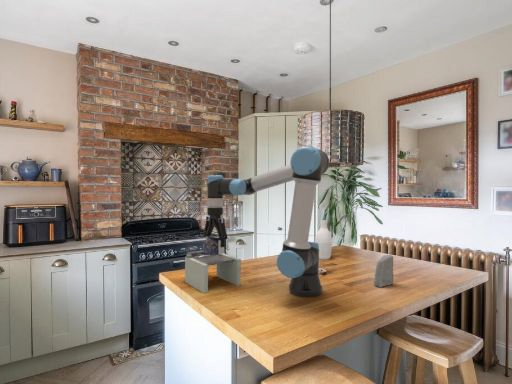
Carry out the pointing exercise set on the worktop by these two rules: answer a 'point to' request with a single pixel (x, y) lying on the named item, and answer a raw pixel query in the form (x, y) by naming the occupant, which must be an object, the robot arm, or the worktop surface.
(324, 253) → the bottle
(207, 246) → the rock
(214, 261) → the trapdoor
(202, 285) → the frame
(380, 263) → the decorative stone
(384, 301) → the worktop surface
